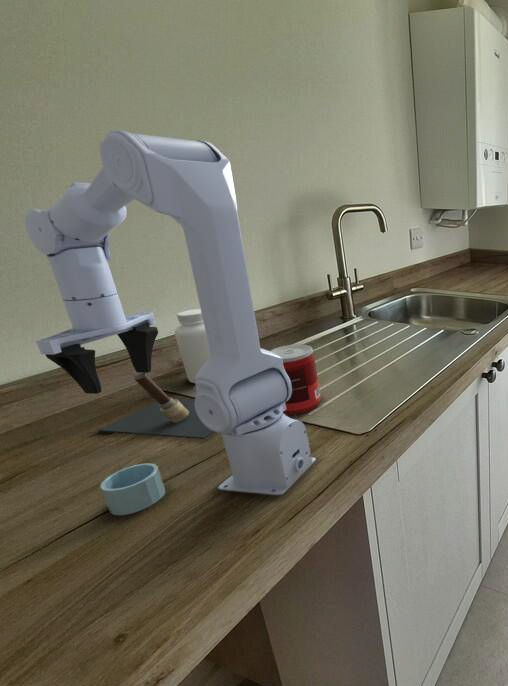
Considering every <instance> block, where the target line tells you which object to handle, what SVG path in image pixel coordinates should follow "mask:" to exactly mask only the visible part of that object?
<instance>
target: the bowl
mask: <svg viewBox="0 0 508 686" xmlns="http://www.w3.org/2000/svg"><path fill="white" fill-rule="evenodd" d="M99 488H100V492H101V493H102V497H103V498H104V502H105V505H106V506H107V509H108V511H109V513H110V514H112V515H115V516H125V515H132V514H134V513H137V512H140V511H142V510H145V509H147V508H150V507H151V506H153V505H155V504H156V503H157V502H159V501H160V500H161V499H162V498H163V497H164V496H165V494H166V487H165V484H164V481H163V478H162V475H161V472H160V469H159V466H158V465H157V464H155V463H149V462H145V463H139V464H133V465H131V466H127V467H125V468H121V469H120V470H117V471H116V472H113V473H111V475H109V476H107V477H106V478H105V479H103V481H102V482H100V486H99Z"/></svg>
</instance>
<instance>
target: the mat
mask: <svg viewBox="0 0 508 686" xmlns="http://www.w3.org/2000/svg"><path fill="white" fill-rule="evenodd" d="M171 398H172V399H177V400H178V401H179V402H180V403H181V404H182V405H183V406H184V407H185V408H186V409H187V410H188V411H189V414H188V416H187V417H186V418H185V419H183V420H182V421H180V422H177V423H173V422H171V421H170V420H169V419H168V418H167V417H166V416H165V415H164V414H163V413H162V412H161V411H160V408H161V407H160V406H159V403H158V402H157V401H156V400H155V401H153V402H152V403H150V404H148V405H145V406H144V407H142V408H139V409H138V410H136V411H133V412H132V413H130V414H128V415H126V416H123V417H122V418H120V419H118V420H116V421H114V422H112V423H109V424H108V425H106V426H104V427H101V428H100V429H98V430H97V432H98V433H100V434H101V433H102V434H113V435H114V434H115V433H124V434H135V435H137V434H138V435H150V436H163V437H164V436H165V437H175V438H176V437H179V438H192V439H206V438H208V437H210V436H211V435H212V434H214V433H216V432H215V431H212V430H210V429H209V428H208V427H206V426H205V425H204V424H203V423H202V421H201V420H200V419H199V417H198V415H197V413H196V410H195V404H194V403H195V398H194V399H193V398H176V397H171Z"/></svg>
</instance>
